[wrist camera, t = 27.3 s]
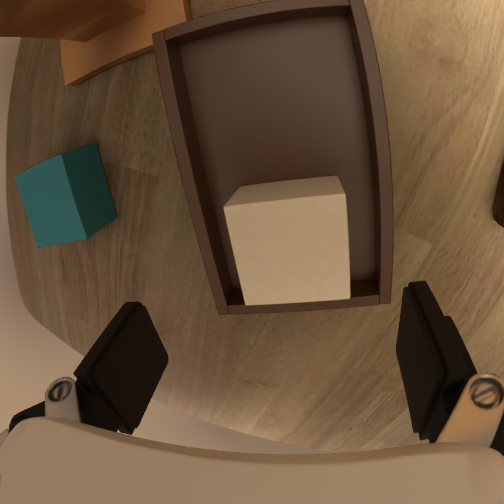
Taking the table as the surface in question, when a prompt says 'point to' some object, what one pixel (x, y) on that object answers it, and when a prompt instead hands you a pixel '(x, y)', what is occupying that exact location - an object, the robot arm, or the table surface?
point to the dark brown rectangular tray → (281, 128)
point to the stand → (92, 29)
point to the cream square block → (291, 240)
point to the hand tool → (500, 202)
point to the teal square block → (66, 196)
